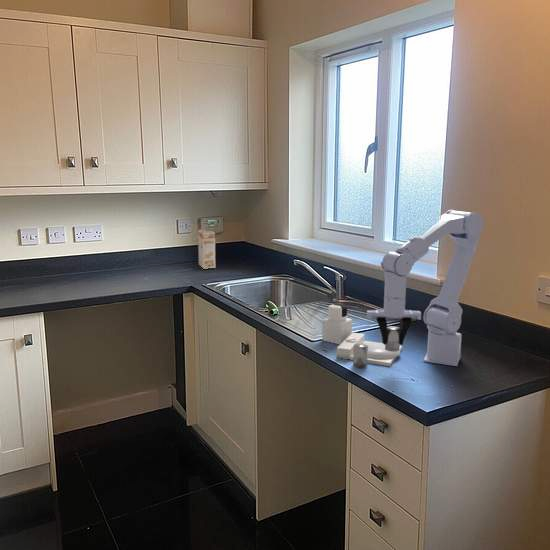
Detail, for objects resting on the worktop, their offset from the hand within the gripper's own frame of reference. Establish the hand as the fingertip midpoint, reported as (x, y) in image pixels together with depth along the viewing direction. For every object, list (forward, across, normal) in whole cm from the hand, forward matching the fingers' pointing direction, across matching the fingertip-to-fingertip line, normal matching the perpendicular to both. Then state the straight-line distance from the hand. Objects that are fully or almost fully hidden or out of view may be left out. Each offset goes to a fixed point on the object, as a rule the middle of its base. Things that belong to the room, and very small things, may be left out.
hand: (392, 343), depth 156 cm
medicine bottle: (+8, +13, -25) cm, 30 cm away
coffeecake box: (+8, +74, -143) cm, 161 cm away
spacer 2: (+2, 0, 0) cm, 2 cm away
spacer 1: (+8, +8, -3) cm, 12 cm away
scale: (+8, +4, -13) cm, 16 cm away
